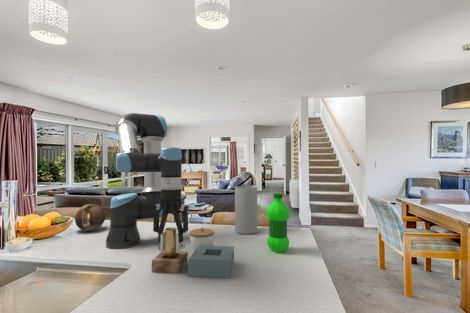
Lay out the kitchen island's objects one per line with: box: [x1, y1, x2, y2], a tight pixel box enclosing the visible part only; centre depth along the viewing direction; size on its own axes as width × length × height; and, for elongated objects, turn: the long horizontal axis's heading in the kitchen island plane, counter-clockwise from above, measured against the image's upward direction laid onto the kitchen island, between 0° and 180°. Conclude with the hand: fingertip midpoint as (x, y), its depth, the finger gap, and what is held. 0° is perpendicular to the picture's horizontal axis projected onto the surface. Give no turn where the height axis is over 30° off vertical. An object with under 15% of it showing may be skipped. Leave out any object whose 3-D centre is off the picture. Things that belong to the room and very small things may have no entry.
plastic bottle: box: [266, 192, 291, 253], centre depth 110 cm, size 10×10×25 cm
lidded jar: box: [189, 227, 215, 251], centre depth 112 cm, size 11×11×9 cm
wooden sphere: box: [74, 203, 106, 232], centre depth 141 cm, size 15×15×15 cm
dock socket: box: [188, 245, 235, 279], centre depth 91 cm, size 14×14×6 cm
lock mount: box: [151, 250, 189, 274], centre depth 93 cm, size 10×10×4 cm
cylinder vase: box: [234, 185, 258, 235], centre depth 140 cm, size 12×12×25 cm
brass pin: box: [164, 226, 177, 259], centre depth 93 cm, size 4×4×14 cm
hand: (170, 250), depth 93 cm, fingers open, 5 cm apart
